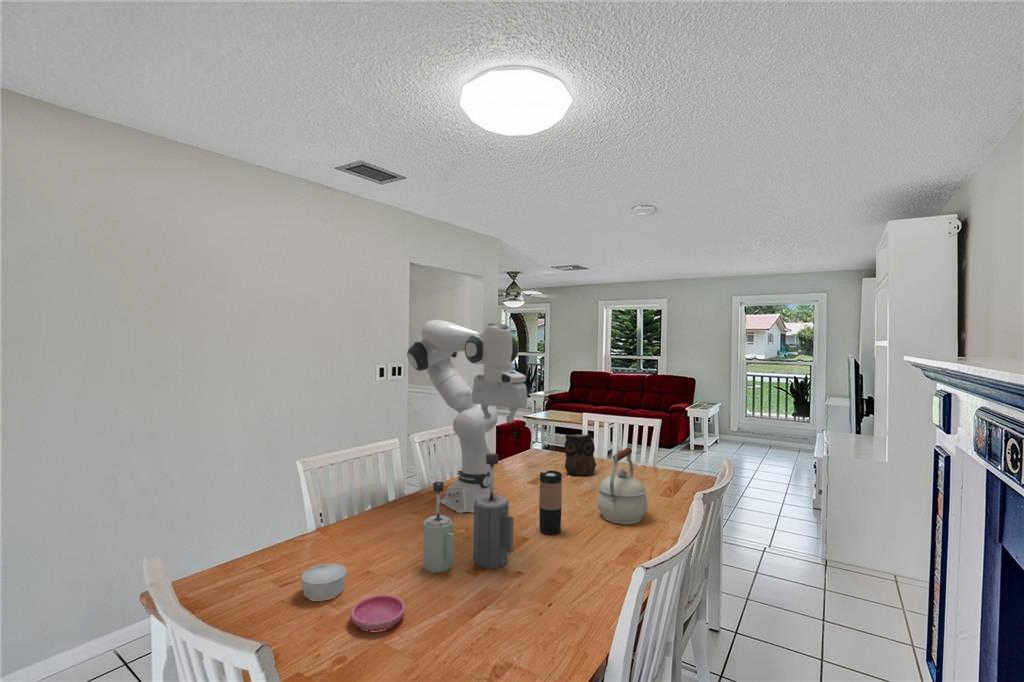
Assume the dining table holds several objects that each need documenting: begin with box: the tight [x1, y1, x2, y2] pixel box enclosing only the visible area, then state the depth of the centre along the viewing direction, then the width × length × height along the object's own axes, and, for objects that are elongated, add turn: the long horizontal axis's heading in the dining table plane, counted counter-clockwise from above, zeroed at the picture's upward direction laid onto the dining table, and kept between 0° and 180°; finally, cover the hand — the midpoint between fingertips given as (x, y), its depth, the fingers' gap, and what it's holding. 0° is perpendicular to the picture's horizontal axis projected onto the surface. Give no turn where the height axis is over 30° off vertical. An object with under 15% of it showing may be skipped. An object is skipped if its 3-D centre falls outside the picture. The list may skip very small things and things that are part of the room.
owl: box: [563, 433, 597, 478], centre depth 240 cm, size 13×13×20 cm
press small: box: [422, 514, 455, 574], centre depth 142 cm, size 10×8×14 cm
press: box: [472, 494, 514, 570], centre depth 146 cm, size 13×11×18 cm
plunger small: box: [432, 481, 445, 518], centre depth 143 cm, size 3×3×10 cm
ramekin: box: [300, 563, 348, 600], centre depth 128 cm, size 11×11×5 cm
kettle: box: [596, 447, 648, 525], centre depth 185 cm, size 25×18×25 cm
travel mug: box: [538, 470, 563, 536], centre depth 170 cm, size 8×8×20 cm
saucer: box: [350, 594, 406, 631], centre depth 116 cm, size 12×12×3 cm
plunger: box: [486, 452, 499, 500], centre depth 147 cm, size 4×4×13 cm
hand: (498, 420), depth 153 cm, fingers open, 8 cm apart
